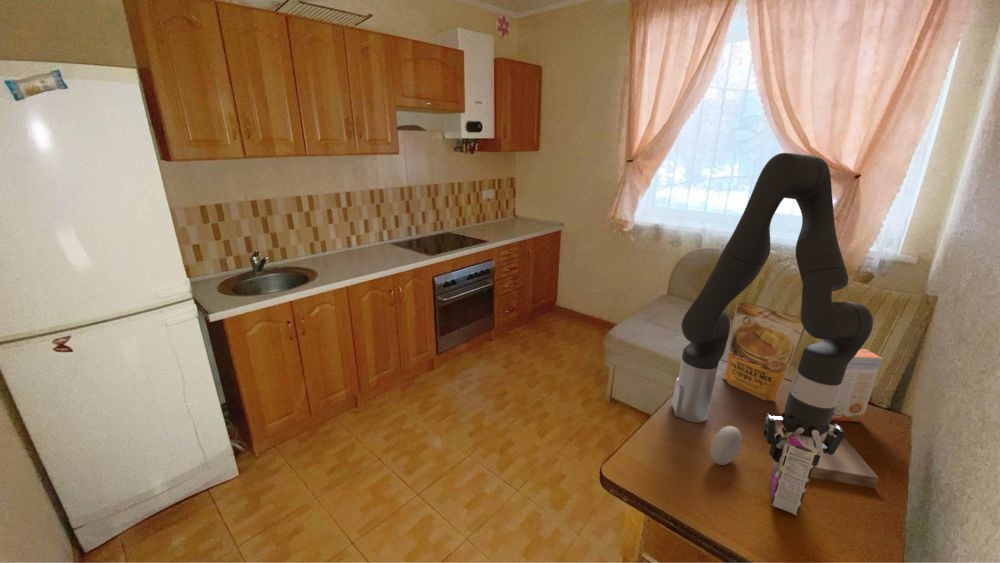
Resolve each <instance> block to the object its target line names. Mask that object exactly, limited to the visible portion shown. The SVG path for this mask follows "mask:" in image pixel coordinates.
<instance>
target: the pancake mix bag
mask: <svg viewBox="0 0 1000 563" xmlns="http://www.w3.org/2000/svg"><path fill="white" fill-rule="evenodd" d="M732 320H733V322H732V327H731V332H730V340H729V350H728V357H727V364H726V365H727V366H726V369H725V372H724V375H723V376H722V380H725V381H726V383H727V384H728V385H730V386H732V387H734V388H736V389H738V390H740V391H742V392H744V393H746V394H748V395H751V396H753V397H755V398H757V399H759V400H762V401H764V402H769V401H770V402H773V403H776V402H777V393H778V391H779V390H780V387H781V386H782V384H783V381H784V378H785V377H786V374H787V372H788V370H789V368H790V366H791V364H792V362H793V358H794V356H795V355H796V353H797V351H798V348H799V346H800V345H799V344H800V342H801V340H802V337H803V335H804V333H805V331H806V330H805V329H804V327H803V325H802V322H801V317H800V316H796V315H792V314H789V313H786V312H780V311H778V310H775V309H770V308H768V307H765V306H760V305H756V304H752V303H748V302H745V301H744V302H743V301H738V302H735V306H734V312H733V318H732Z"/></svg>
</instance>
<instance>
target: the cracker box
mask: <svg viewBox="0 0 1000 563" xmlns="http://www.w3.org/2000/svg"><path fill="white" fill-rule="evenodd" d="M882 360H883V357H881V356H880V355H877V354H876V353H874V352H873V351H871V350H869V349H867V348H860V350H859V351H858V352H857V354H856V355H855V356H854V358H853V359H852V360H851V361H850V362H849V363H848V365H847V368H846V371H845V374H844V377H843V380H842V384H841V390H840V395H839V398H838V401H837V404H836V407H835V410H834V413H833V416H832V419H831V421H838V422H855V423H856V422H857V423H862V422H863V419H864V416H865V412H866V410H867V408H868V403H869V400H870V397H871V394H872V392H873V389H874V386H875V383H876V380H877V376H878V373H879V370H880V367H881V364H882Z"/></svg>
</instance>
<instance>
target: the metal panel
mask: <svg viewBox="0 0 1000 563" xmlns="http://www.w3.org/2000/svg"><path fill="white" fill-rule="evenodd" d="M782 425H783V424H782V423H779V424H778V427H777V428H775V434H776V433H777V432H778V429H779V428H780V427H781V426H782ZM827 434H828V431H827V432H826V433H824V434H822V435H821V436H820V440H821V443H822V442H823V441H824V439H825V437H826V435H827ZM810 478H813V479H818V480H819V479H820V480H826V481H831V482H836V483H843V484H849V485H853V486H859V487H865V488H871V489H875V488H876V487H877V484H878V480H879V479H880V478H879V477H878V475H876V473H875V472H874V470H873V469H872V468H871V467H870V466H869V465H868V463H867V462H866V461H865V459H863V457H862V456H861V455H860V454H859V453H858V452H857V451H856V449H855V448H854V447H853V445H851V443H850V442H849V441H848V440H847V439H846V438H845V437H844V438H843V439H842V441H841V443H840V444H839V446H838V448H837V449H836V451H835V453H834V454H832V455H830V454H828V453H824V454H823V455H821V456H820V459H819V462H818V465H817V466H814V468H812V472H811V475H810Z"/></svg>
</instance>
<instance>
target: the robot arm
mask: <svg viewBox="0 0 1000 563" xmlns="http://www.w3.org/2000/svg"><path fill="white" fill-rule="evenodd" d="M758 175H759V176H758V177H757V180H756V182H755V185H754V188H753V190H752V192H751V195H750V197H749V199H748V202H747V205H746V207H745V209H744V211H743V213H742V215H741V217H740V219H739V221H738V223H737V225H736V227H735V229H734V230H733V233H732V234H731V237H730V238H729V240H728V241H727V243H726V244H725V246H724V248H723V250H722V252H721V253H720V256H719V258H718V259H717V262H716V263H715V266H714V268H713V269H712V271H711V272H710V274H709V275H708V276H709V277H708V278H707V279H706V282H705V283H704V286H703V287H702V289H701V291H700V292H699V294H698V295H697V297H696V298H695V300H694V301H693V303H692V304H691V305H690V306H689V308H688V309H687V311H686V312H685V314H684V316H683V319H682V321H681V331H682V334H683V336H684V337H685V339H686V340H687V341H689V344H687V345H686V346H685V347H684V348H683V350H682V354H681V361H680V366H679V374H678V377H676V379H675V383H674V384H675V385H674V391H673V395H672V401H671V402H672V403H671V406H672V409H673V414H674V416H675V417H676V418H677V417H678V418H680V419H682V420H684V421H686V422H690V423H699V424H700V423H704V422H706V421H707V420H708V416H709V413H710V406H711V402H712V398H713V397H712V396H713V392H714V386H715V382H716V378H717V377H716V376H717V371H718V367H719V363H720V361H721V360H722V358H723V356H724V354H725V350H726V347H727V343H728V340H729V337H730V333H731V332H730V331H731V320H730V317H729V316H728V315H729V314H727V312H726V311H725V309H726V308H727V306H728V305H730V303H731V302H732V301H733V300H735V299H736V298H737V297H738V296H739V295H740V294H741V293H742V292H744V291H745V290H746V289H747V288H748V287H749V286H750V285H751V284H752V283H753V282H754V280H755V279H756V278H757V276H759V273H760V272H761V270H762V269H763V267H764V265H765V264H766V262H767V261H768V258H769V257H770V253H771V223H772V220H773V217H774V215H775V214H776V211H777V210H778V208H779V206H780V205H781V203H782V202H783V200H784V199H790V200H795V201H796V202H797V205H798V207H799V210H800V212H801V213H800V214H801V216H802V220H801V221H802V222H801V223H802V224H801V228H800V232H799V234H798V238H797V241H796V244H795V259H796V263H797V264H796V265H797V268H798V271H799V276H800V280H801V282H802V288H801V289H802V291H801V303H800V318H801V322H802V325H803V327H804V329H805V330H804V331H805V332H807V333H808V334H809V336H811V337H813V338H815V339H818V340H821V341H819V342H816V343H812V344H809V345H806V346H805V347H804V348H803V351H802V352H801V356H800V359H799V363H798V366H797V370H796V372H795V374H794V376H793V377H792V381H791V384H790V386H789V390H788V391H789V392H788V395H787V398H786V403H785V406H784V411H783V413H782V414H781V415H780V416H777V415H776V416H775V415H773V416H772V414H770V413H769V412H768V413H765V414H764V420H763V421H764V422H763V437H764V439H765V440H766V442H767V444H769V445H771V446H770V449H769V455H770V457H771V459H773V462H774V461H775V462H779V461H780V457H781V454H782V450H783V448H782V447H784V444H785V441H786V440H787V437H788V435H789V436H796V437H797V436H798V435H802V436H808V437H812V438H813V439H814V440H815V442H816V448H817V456H816V459H815V462H814V465H813V468H814V466H817V465H818V462H819V459H820V456H821V455H823V454H824V453H828V454H830V455H832V454H834V453H835V451H836V449H837V448H838V446H839V444H840V443H841V441H842V439H843V438H845V436H846V432H845V431H844V430H843V428H842V427H841V426H840V425H839V424H838V423H833V424H830V423H831V421H832V420H831V419H832V416H833V413H834V410H835V407H836V404H837V401H838V398H839V395H840V390H841V384H842V380H843V377H844V374H845V371H846V368H847V365H848V363H849V362H850V361H851V360H852V359H853V358H854V356H855V355H856V354H857V352H858V351H859V350H860V349H862V347H863V346H864V345H865V343H866V342H867V340H868V339H869V337H870V335H871V333H872V331H873V327H874V326H873V324H874V318H873V315H872V313H871V311H870V310H869V309H868V308H867V307H866V306H865V305H864V304H862V303H859V302H855V301H854V302H853V301H833V300H832V298H833V297H832V296H833V292H836V291H840V290H842V289H844V288H845V287H847V286H848V284H849V281H850V280H849V275H848V271H847V267H846V264H845V261H844V258H843V255H842V252H841V248H840V244H839V240H838V237H837V233H836V231H837V230H836V225H835V213H834V212H835V210H834V201H833V191H832V190H833V189H832V179H831V171H830V168H829V165H828V163H827V162H826V161H825V159H823V158H821V157H819V156H816V155H810V154H804V153H797V152H796V153H795V152H789V151H788V152H787V151H786V152H778V153H777V154H775V155H774V156H772V157H771V158H769V160H768V161H767V162H766V164H765V165H764V167H763V168H762V170H761V172H760V173H759V174H758ZM779 423H780V424H783V425H782V426H781V427H780V428H779V429H778V432H777V433H776V434H775V428H777V427H778V424H779ZM786 430H787V432H788V433H789V434H788V435H787V436H786ZM827 431H828V434H827V435H826V437H825V439H824V441H823V442H822V443H821V440H820V436H821V435H822V434H824V433H826V432H827Z"/></svg>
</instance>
